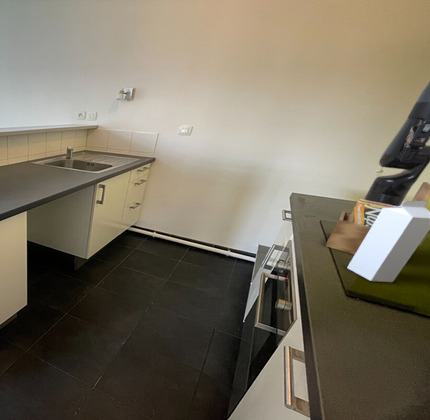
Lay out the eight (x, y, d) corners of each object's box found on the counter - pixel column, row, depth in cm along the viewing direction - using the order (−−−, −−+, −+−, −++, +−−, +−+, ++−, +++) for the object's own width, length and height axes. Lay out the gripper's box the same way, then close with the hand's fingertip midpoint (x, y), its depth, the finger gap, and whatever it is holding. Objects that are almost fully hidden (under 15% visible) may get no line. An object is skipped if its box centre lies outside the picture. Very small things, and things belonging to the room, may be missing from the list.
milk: (346, 268, 71) (388, 196, 63) (367, 269, 71) (411, 197, 63) (371, 281, 65) (420, 204, 57) (393, 282, 65) (446, 205, 57)
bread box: (325, 246, 83) (339, 219, 79) (329, 234, 92) (342, 210, 88) (383, 263, 74) (402, 235, 70) (382, 249, 83) (399, 223, 79)
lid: (429, 189, 66) (466, 194, 62) (423, 181, 74) (455, 186, 70) (401, 233, 71) (433, 240, 67) (398, 221, 79) (426, 227, 75)
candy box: (376, 250, 80) (403, 207, 75) (375, 253, 78) (402, 209, 72) (338, 238, 87) (360, 198, 81) (335, 241, 85) (358, 200, 79)
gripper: (471, 99, 59) (429, 165, 65) (459, 102, 67) (423, 161, 73) (418, 99, 64) (384, 160, 70) (414, 102, 73) (383, 157, 79)
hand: (404, 161), depth 72 cm, fingers open, 8 cm apart
